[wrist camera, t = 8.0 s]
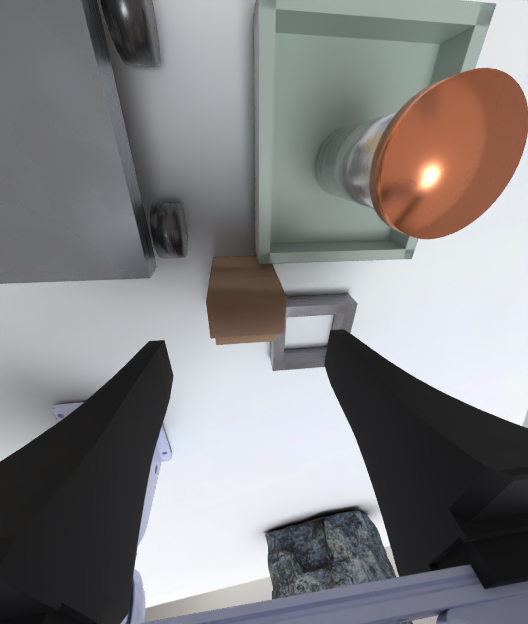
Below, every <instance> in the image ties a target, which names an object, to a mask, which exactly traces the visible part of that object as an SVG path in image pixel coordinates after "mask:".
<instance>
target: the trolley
mask: <svg viewBox="0 0 528 624" xmlns="http://www.w3.org/2000/svg"><path fill="white" fill-rule="evenodd" d="M100 1H101V5H102V9H103V12H104V16H105V19H106V22H107V25H108V28H109V31H110V34H111V37H112V39H113V42H114V44H115V47H116V49H117V51H118V53H119V55H120V57H121V59H122V60H123V62H124V63H125V64H127V65H142V66H159V63H160V50H159V40H158V32H157V26H156V20H155V14H154V9H153V4H152V0H100ZM150 224H151V232H152V238H153V242H154V246H155V248H156V251H157V253H158V255H159V256H160V257H161V258H180V257H186V255H187V230H186V223H185V217H184V213H183V210H182V207H181V205H180V204H179V203H154V204H153V205H152V207H151V212H150ZM156 268H157V265H156V261H155V256H154V252H153V247H152V243H151V238H150V234H149V230H148V225H147V221H146V216H145V212H144V207H143V203H142V198H141V194H140V190H139V185H138V181H137V176H136V172H135V167H134V163H133V158H132V154H131V150H130V145H129V141H128V136H127V132H126V127H125V123H124V118H123V114H122V110H121V105H120V101H119V96H118V92H117V87H116V83H115V78H114V74H113V70H112V65H111V61H110V56H109V52H108V47H107V43H106V38H105V34H104V30H103V25H102V21H101V16H100V12H99V7H98V3H97V0H0V284H3V283H31V282H58V281H85V280H112V279H139V278H150V277H151V276H152V274H153V273H154V271H155V270H156Z"/></svg>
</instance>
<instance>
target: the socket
mask: <svg viewBox="0 0 528 624" xmlns="http://www.w3.org/2000/svg"><path fill="white" fill-rule="evenodd" d="M356 307H357V303H356V301H355V300H354V299H353V298H352V297H351V296H350V295H349V294H332V295H311V296H290V297H287V302H286V317H298V316H316V315H333V314H334V320H333V325H332V330H338V329H344V330H346V331H347V332H349V333H350V332H351V328H352V324H353V320H354V316H355V311H356ZM286 317H285V328H286ZM284 343H285V332H284V334H277V337H276V341H271V343H270V360H271V365H272V370H273V371H277V370H290V369H302V368H315V367H325V365H324V363H325V357H326V352H327V347H317V348H303V349H289V350H284Z"/></svg>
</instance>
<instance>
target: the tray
mask: <svg viewBox="0 0 528 624" xmlns="http://www.w3.org/2000/svg"><path fill="white" fill-rule="evenodd" d="M495 6H496V4H495V3H484V2H473V1H462V0H256V4H255V10H254V16H253V53H254V181H255V252H256V255H257V258H258V262H259V264H270V263H301V262H331V261H362V260H393V259H412V256H413V253H414V250H415V247H416V244H417V241H418V238H414V237H411V236H409V235H406V234H404V233H401V232H399V231H396V230H394V229H392V228H390V227H389V226H387V225H386V224H385V223H384V222H383V221H382V220H381V219H380V218H379V217H378V215H377V213H376V211H375V209H372V208H369V207H366V206H363V205H360V204H357V203H354V202H351V201H348V200H345V199H342V198H339V197H336V196H333V195H330V194H328V193H326V192H325V191H324V190H323V189H322V188H321V187H320V185H319V184H318V182H317V179H316V176H315V159H316V155H317V152H318V150H319V148H320V146H321V144H322V142H323V141H324V140H325V139H326V138H327V137H328V136H329V135H330V134H331V133H332V132H334V131H336V130H338V129H340V128H344V127H347V126H351V125H354V124H357V123H361V122H364V121H368V120H371V119H375V118H378V117H382V116H385V115H389V114H392V113H395V112H398V111H399V110H400V108H401V107H402V106H403V105H404V104H405V103H406V102H407V101H408V100H410V99H411V98H412V97H413V96H414V95H416V94H417V93H418V92H420V91H421V90H423V89H424V88H426V87H428V86H429V85H431V84H434V83H436V82H439V81H441V80H444V79H446V78H449V77H452V76H454V75H457V74H460V73H462V72H465V71H469V70H473V69H475V67H476V64H477V61H478V58H479V55H480V52H481V49H482V46H483V43H484V40H485V37H486V34H487V30H488V27H489V24H490V21H491V18H492V15H493V12H494V9H495Z"/></svg>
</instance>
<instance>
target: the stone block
mask: <svg viewBox="0 0 528 624" xmlns="http://www.w3.org/2000/svg"><path fill="white" fill-rule="evenodd" d="M265 536H266V539H267V544H268V568H269V573H270V576H271V580H272V585H273V591H272V600H273V599H278V598H284V597H290V596H295V595H301V594H306V593H312V592H318V591H323V590H329V589H334V588H340V587H346V586H351V585H357V584H363V583H368V582H374V581H379V580H385V579H391V578H396V575H395V572H394V570H393V567H392V565H391V563H390V561H389V559H388V557H387V554H386V550H385V549H384V546H383V544H382V541H381V537H380V534H379V532H378V530H377V528H376V526H375V525H374V523H373V522H372V521H371V520H370V519H369V517H368V516H367V514H365V513H361V512H360V511H350V512H344V513H338V514H334V515H332V516H325V517H321V518H318V519H314V520H311V521H308V522H304V523H302V524H299V525H294V526H287V527H286V528H283V529H280V530H276V531H274V532H271V533H267V534H265ZM265 536H264V537H265ZM397 624H413V623H412V621H407V622H402V623H397Z"/></svg>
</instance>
